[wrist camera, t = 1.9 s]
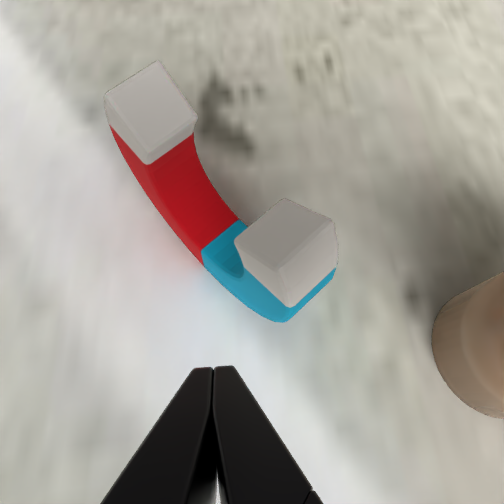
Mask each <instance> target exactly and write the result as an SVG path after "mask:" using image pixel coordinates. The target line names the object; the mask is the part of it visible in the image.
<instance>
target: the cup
mask: <svg viewBox="0 0 504 504" xmlns="http://www.w3.org/2000/svg"><path fill="white" fill-rule="evenodd" d="M432 349H433V355H434V359H435V362H436V365H437V367H438V370H439V372H440V374H441V376H442V378H443V379H444V381H445V382H446V384H447V385H448V387H449V388H450V389H451V390H452V391H453V393H454V394H455V395H456V396H457V397H458V398H460V399H461V400H462V401H463V402H464V403H466V404H467V405H468V406H470V407H471V408H473V409H475V410H477V411H478V412H481V413H483V414H485V415H488V416H492V417H495V418H501V419H504V272H502V273H500V274H498V275H496V276H494V277H492V278H490V279H488V280H486V281H484V282H482V283H480V284H478V285H476V286H474V287H472V288H470V289H468V290H466V291H464V292H462V293H460V294H458V295H457V296H455V297H453V298H452V299H450V300H449V301H448V302H447V303H446V304H445V305H444V306H443V307H442V309H441V310H440V312H439V313H438V315H437V317H436V320H435V322H434V326H433V331H432Z"/></svg>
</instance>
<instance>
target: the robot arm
mask: <svg viewBox="0 0 504 504" xmlns="http://www.w3.org/2000/svg"><path fill="white" fill-rule="evenodd" d="M217 473H218V484H219V493H220V501H221V504H323V502H322V501H321V499H320V498H319V496H318V495H317V493H316V492H315V491H312V486H311V484H310V483H309V481H308V480H307V478H306V477H305V475H304V474H303V472H302V470H301V469H300V467H299V466H298V464H297V463H296V461H295V460H294V458H293V457H292V455H291V453H290V452H289V450H288V449H287V447H286V446H285V444H284V443H283V441H282V440H281V438H280V436H279V435H278V433H277V432H276V430H275V429H274V427H273V426H272V424H271V423H270V421H269V419H268V418H267V416H266V415H265V413H264V412H263V410H262V409H261V407H260V406H259V404H258V402H257V401H256V399H255V398H254V396H253V395H252V393H251V392H250V390H249V389H248V387H247V386H246V384H245V382H244V381H243V379H242V378H241V376H240V375H239V373H238V372H237V370H236V369H235V367H234V366H217V367H215V368H214V370H213V368H212V367H202V368H194V369H193V370H192V371H191V372H190V374H189V375H188V377H187V378H186V380H185V381H184V382H183V384H182V385H181V387H180V388H179V390H178V391H177V393H176V394H175V396H174V397H173V399H172V400H171V401H170V403H169V404H168V406H167V407H166V409H165V410H164V412H163V413H162V415H161V416H160V417H159V419H158V420H157V422H156V423H155V425H154V426H153V428H152V429H151V431H150V432H149V433H148V435H147V436H146V438H145V439H144V441H143V442H142V444H141V445H140V447H139V448H138V450H137V451H136V452H135V454H134V455H133V457H132V458H131V460H130V461H129V463H128V464H127V466H126V467H125V468H124V470H123V471H122V473H121V474H120V476H119V477H118V479H117V480H116V482H115V483H114V484H113V486H112V487H111V489H110V490H109V492H108V493H107V495H106V496H105V498H104V499H103V500H102V502H101V503H100V504H215V503H216V492H217Z"/></svg>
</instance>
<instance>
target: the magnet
mask: <svg viewBox="0 0 504 504" xmlns="http://www.w3.org/2000/svg"><path fill="white" fill-rule="evenodd" d="M104 107H105V111H106V115H107V119H108V123H109V125H110V128H111V131H112V133H113V136H114V138H115V140H116V142H117V145H118V147H119V149H120V151H121V153H122V155H123V157H124V158H125V160H126V162H127V164H128V165H129V167H130V169H131V171H132V172H133V174H134V176H135V177H136V179H137V180H138V182H139V183H140V185H141V186H142V188H143V190H144V191H145V193H146V194H147V196H148V197H149V198H150V200H151V201H152V203H153V204H154V205H155V207H156V208H157V210H158V211H159V213H160V214H161V215H162V216H163V218H164V219H165V220H166V222H167V223H168V224H169V226H170V227H171V228H172V229H173V231H174V232H175V233H176V234H177V236H178V237H179V238H180V239H181V240H182V242H183V243H184V244H185V245H186V246H187V248H188V249H189V250H190V251H191V252H192V253H193V255H194V256H195V257H196V258H197V259H198V260H199V261H200V262H201V263H202V265H203V266H204V267H205V268H206V269H207V270H208V271H209V272H210V273H211V274H212V275H213V276H214V277H215V278H216V279H217V280H218V281H219V282H220V283H221V284H222V285H223V286H224V287H225V288H226V289H227V290H229V291H230V292H231V293H232V294H233V295H234V296H235V297H236V298H238V299H239V300H240V301H241V302H243V303H244V304H245V305H246V306H247V307H249V308H250V309H252V310H253V311H255V312H256V313H258V314H259V315H261V316H263V317H265V318H267V319H269V320H272V321H274V322H286V321H288V320H289V319H290V318H291V317H293V316H294V315H295V314H296V313H297V312H298V311H299V310H300V309H301V308H302V307H303V306H304V305H305V304H306V303H307V302H308V301H309V300H311V299H312V298H313V297H314V296H315V295H316V294H317V293H318V292H319V291H320V290H321V289H322V288H323V287H324V286H325V285H326V284H327V283H328V282H329V281H330V280H332V278H333V275H334V272H335V270H336V267H337V264H338V240H337V235H336V230H335V225H334V222H333V221H332V220H331V219H330V218H327V217H325V216H323V215H321V214H319V213H316V212H314V211H312V210H310V209H308V208H305V207H303V206H301V205H299V204H296V203H294V202H292V201H290V200H288V199H282V200H280V201H279V202H278V203H277V204H275V205H274V206H273V207H272V208H271V209H269V210H268V211H267V212H266V213H265V214H263V215H262V216H261V217H260V218H259V219H257V220H256V221H255V222H254V223H253V224H251V225H250V226H249V227H247V226H246V225H245V224H244V223H243V222H242V221H241V220H240V219H239V218H238V217H237V216H236V215H235V214H234V213H233V212H232V211H231V210H230V209H229V207H228V206H227V205H226V204H225V202H224V201H223V200H222V199H221V197H220V196H219V194H218V193H217V191H216V190H215V189H214V187H213V186H212V184H211V182H210V180H209V179H208V177H207V175H206V174H205V171H204V169H203V167H202V165H201V163H200V161H199V158H198V155H197V153H196V149H195V144H194V133H193V131H194V126H195V123H196V122H197V120H198V117H197V114H196V113H195V111H194V110H193V108H192V107H191V105H190V104H189V102H188V101H187V99H186V98H185V96H184V95H183V94H182V92H181V91H180V89H179V88H178V86H177V85H176V83H175V82H174V80H173V79H172V77H171V76H170V74H169V73H168V71H167V70H166V68H165V67H164V66H163V64H162V63H161V62H160V61H156V62H153V63H152V64H150V65H149V66H147V67H145V68H144V69H142V70H141V71H139V72H138V73H136V74H134V75H133V76H131V77H130V78H128V79H127V80H125V81H123V82H122V83H120V84H119V85H117V86H116V87H114V88H112V89H111V90H109V91H108V92H106V94H105V95H104Z"/></svg>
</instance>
